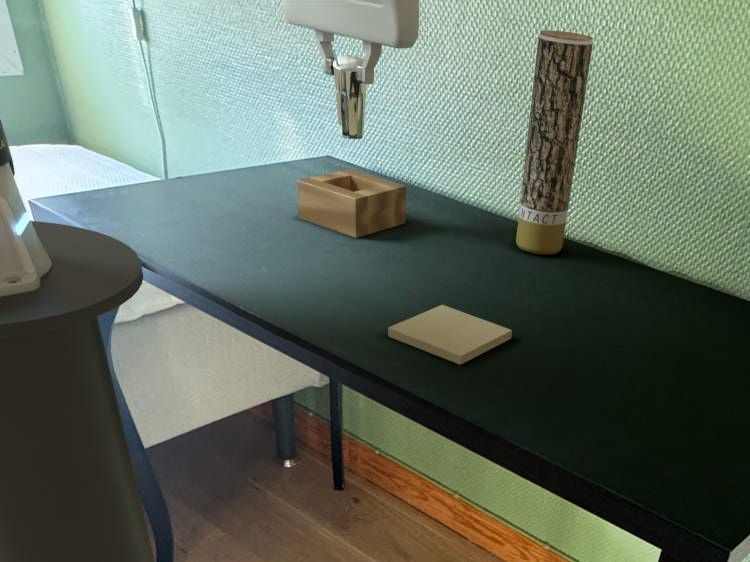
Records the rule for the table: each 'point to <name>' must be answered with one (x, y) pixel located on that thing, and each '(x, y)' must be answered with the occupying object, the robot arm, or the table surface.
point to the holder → (351, 202)
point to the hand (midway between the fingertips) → (348, 79)
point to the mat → (450, 334)
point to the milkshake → (349, 96)
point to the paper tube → (552, 139)
